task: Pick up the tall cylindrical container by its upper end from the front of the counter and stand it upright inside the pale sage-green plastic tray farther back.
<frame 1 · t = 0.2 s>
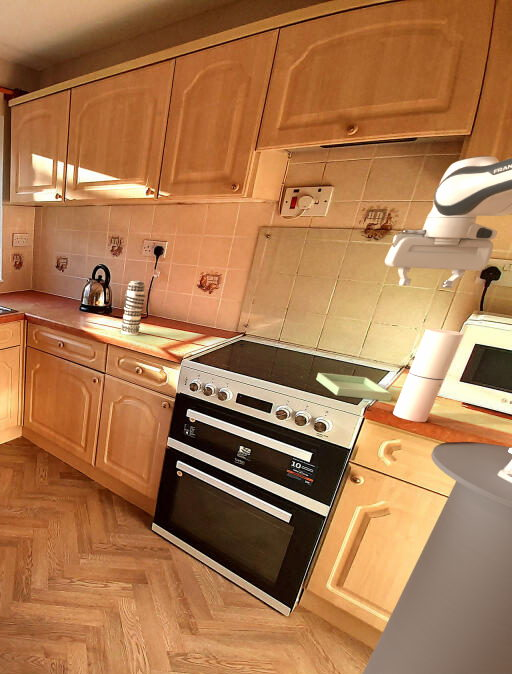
hand: (424, 286, 111), 36 cm above the counter, tool pointing down, fingers open, 8 cm apart
tray: (350, 389, 141), on the counter
cylindrical container: (409, 417, 121), on the counter
leaning tower model: (129, 333, 208), on the counter
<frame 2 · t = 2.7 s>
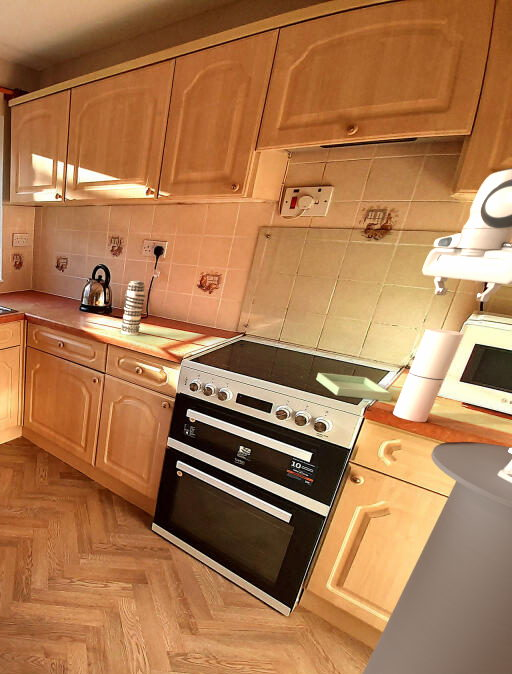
hand: (459, 297, 109), 34 cm above the counter, tool pointing down, fingers open, 8 cm apart
nothing on the counter moved.
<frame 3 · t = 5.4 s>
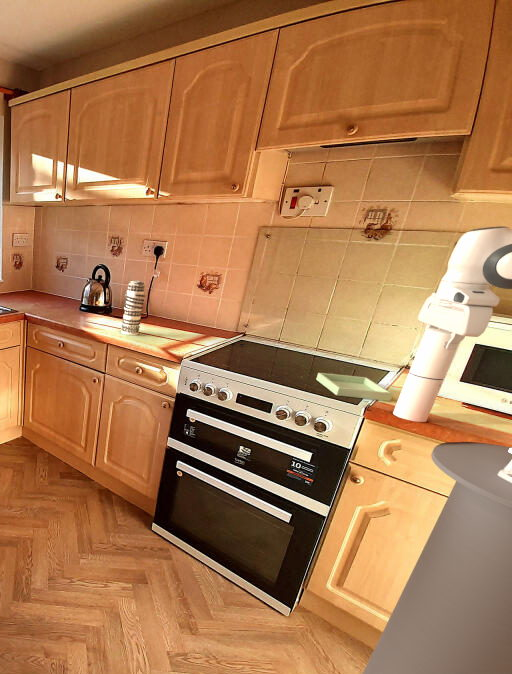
hand: (438, 345, 114), 21 cm above the counter, tool pointing down, fingers closed on cylindrical container, 7 cm apart
cylindrical container: (409, 417, 121), on the counter, touching gripper
everything else where it was.
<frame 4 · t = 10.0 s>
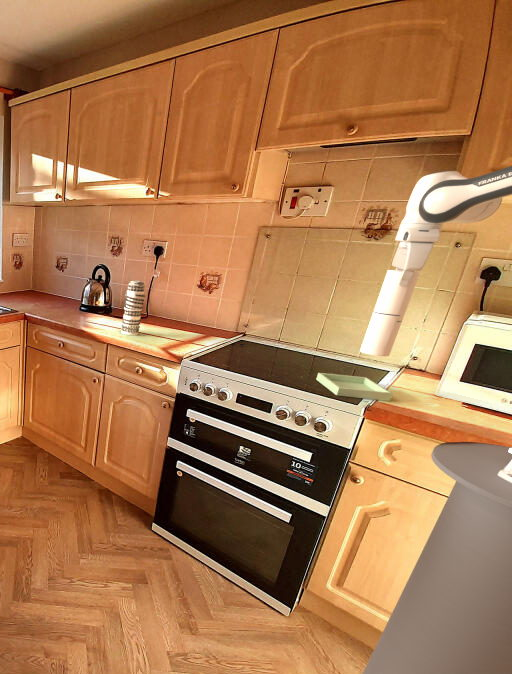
hand: (399, 284, 125), 35 cm above the counter, tool pointing down, fingers closed on cylindrical container, 7 cm apart
cylindrical container: (374, 353, 133), point 14 cm above the counter, touching gripper
everything else where it was.
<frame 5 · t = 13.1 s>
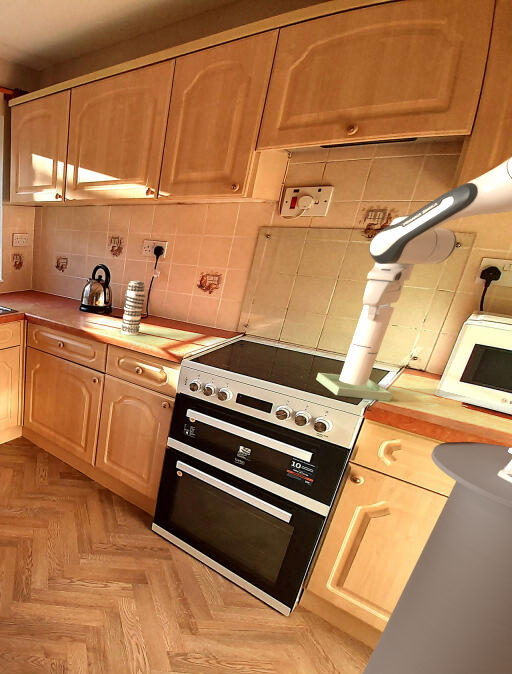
hand: (375, 318, 132), 24 cm above the counter, tool pointing down, fingers closed on cylindrical container, 7 cm apart
cylindrical container: (352, 382, 139), point 3 cm above the counter, touching gripper
everything else where it was.
when the fingers open (22 cm above the counter, at t = 14.8 s): cylindrical container stays where it is, resting on tray.
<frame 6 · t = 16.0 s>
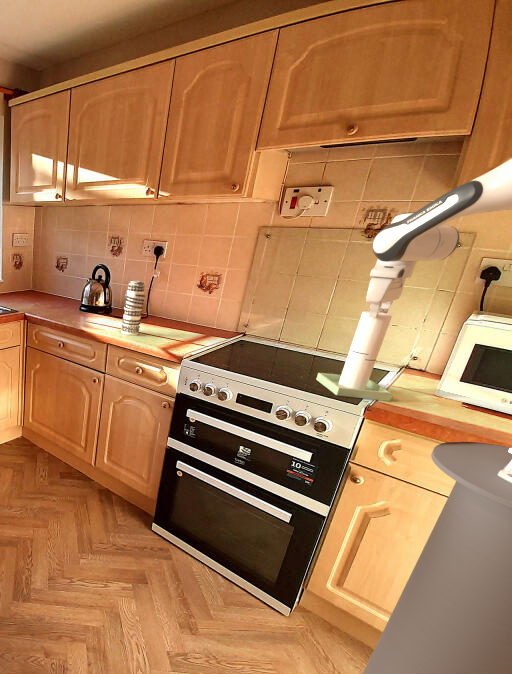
hand: (377, 315, 132), 25 cm above the counter, tool pointing down, fingers open, 8 cm apart
cylindrical container: (350, 388, 140), resting on tray, touching gripper
everything else where it was.
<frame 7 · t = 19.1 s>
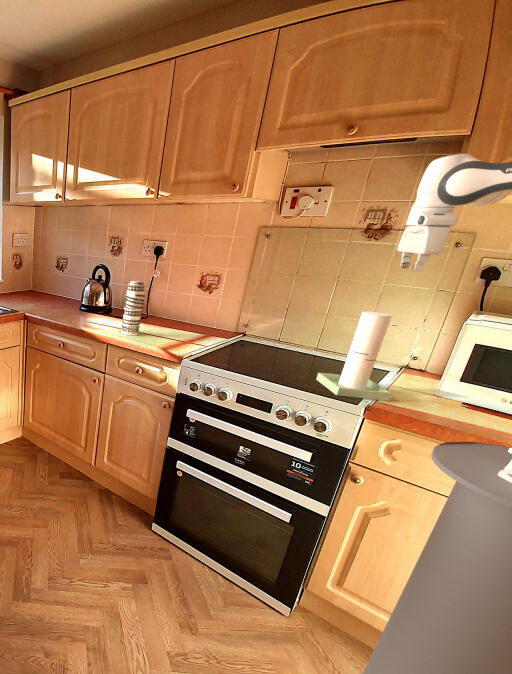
hand: (410, 269, 124), 39 cm above the counter, tool pointing down, fingers open, 8 cm apart
cylindrical container: (350, 388, 140), resting on tray
everything else where it was.
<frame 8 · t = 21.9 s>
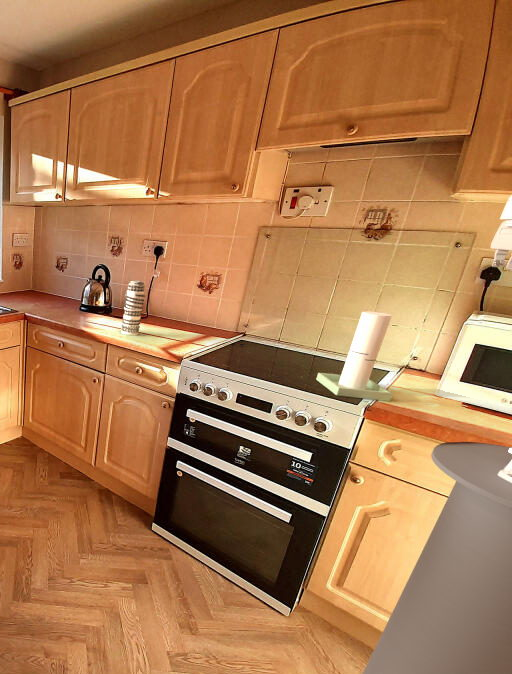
hand: (503, 268, 113), 41 cm above the counter, tool pointing down, fingers open, 8 cm apart
nothing on the counter moved.
at the end: cylindrical container inside the target area in the tray (0.3 cm from its centre), point 0.4 cm above the tray's base; cylindrical container tilted 0°; the gripper is holding nothing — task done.
